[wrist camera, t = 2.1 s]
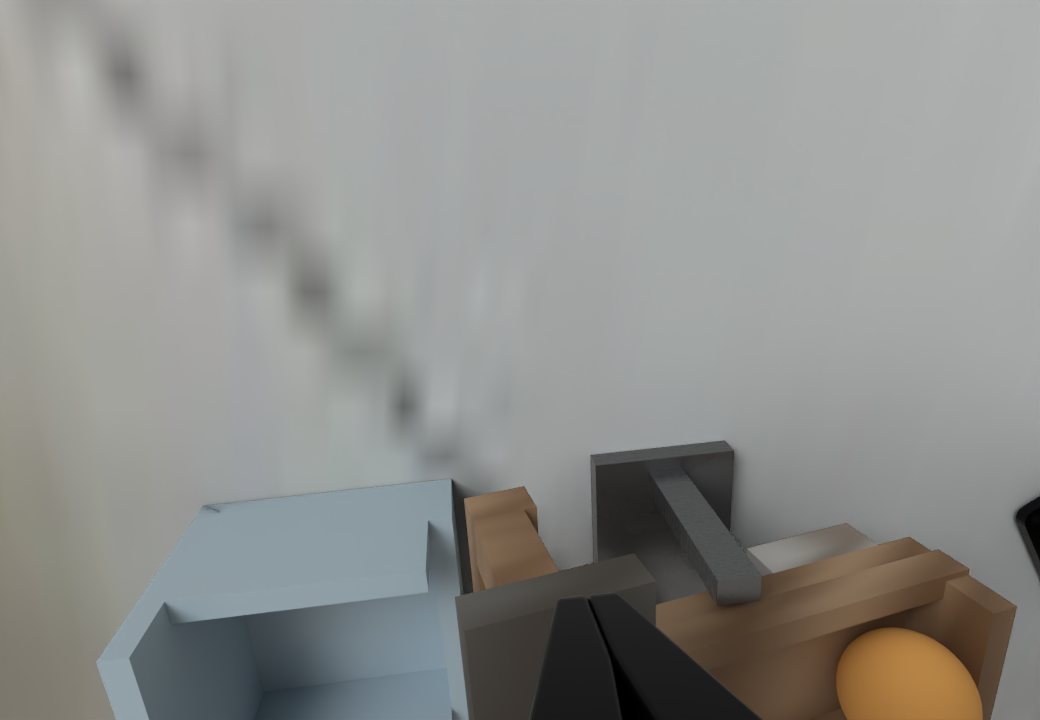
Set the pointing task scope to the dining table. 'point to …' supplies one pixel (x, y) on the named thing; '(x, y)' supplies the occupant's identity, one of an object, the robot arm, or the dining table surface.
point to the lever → (724, 613)
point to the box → (300, 613)
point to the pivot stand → (673, 520)
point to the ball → (904, 679)
